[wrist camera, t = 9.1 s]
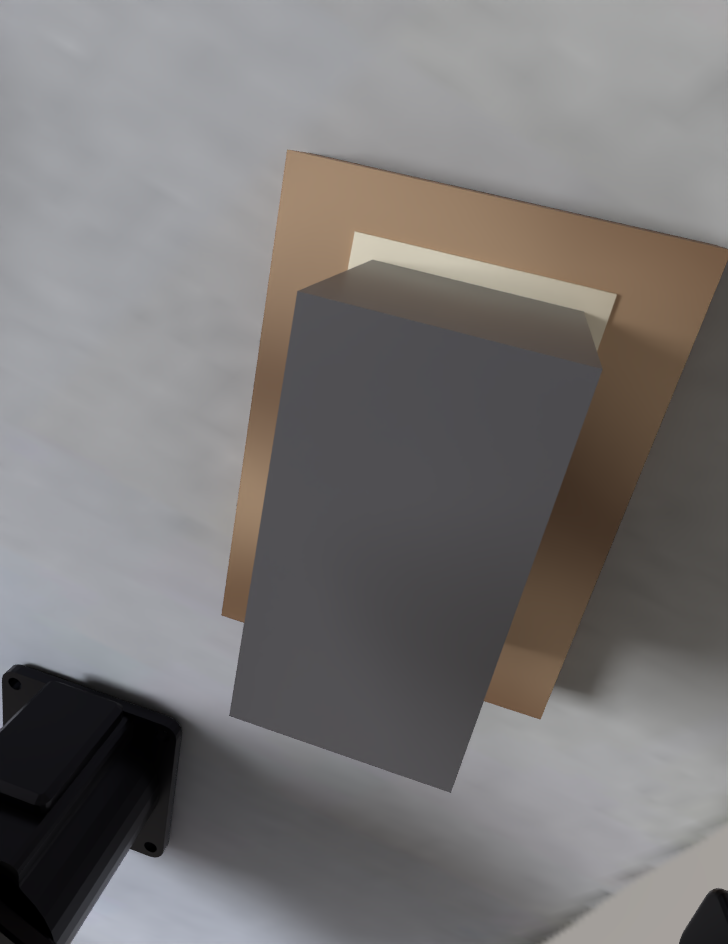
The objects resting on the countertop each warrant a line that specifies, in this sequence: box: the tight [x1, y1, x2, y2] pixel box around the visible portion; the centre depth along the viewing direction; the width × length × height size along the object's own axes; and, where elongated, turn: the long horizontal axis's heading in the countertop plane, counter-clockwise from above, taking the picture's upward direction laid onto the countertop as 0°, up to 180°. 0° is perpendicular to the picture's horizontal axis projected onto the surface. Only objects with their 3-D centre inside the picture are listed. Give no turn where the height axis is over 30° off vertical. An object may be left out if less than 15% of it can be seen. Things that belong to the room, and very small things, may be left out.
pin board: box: [222, 150, 728, 719], centre depth 17 cm, size 12×9×2 cm
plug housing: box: [229, 260, 603, 793], centre depth 14 cm, size 8×4×5 cm, turn 168°
